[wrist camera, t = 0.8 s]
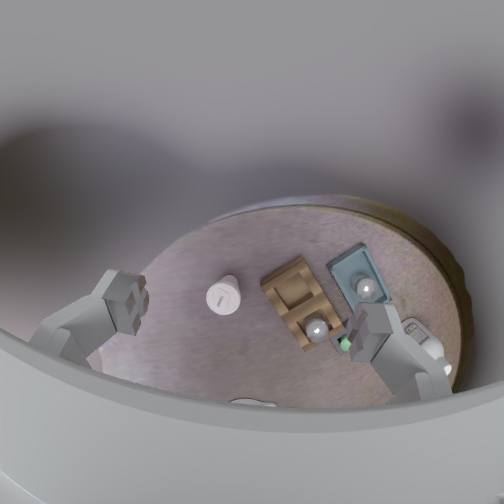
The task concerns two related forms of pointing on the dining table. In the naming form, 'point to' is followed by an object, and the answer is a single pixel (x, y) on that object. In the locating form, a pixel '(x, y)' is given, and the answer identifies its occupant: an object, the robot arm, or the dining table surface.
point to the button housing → (338, 335)
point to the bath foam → (426, 341)
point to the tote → (351, 264)
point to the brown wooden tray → (299, 300)
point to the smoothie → (224, 296)
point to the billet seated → (316, 327)
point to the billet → (364, 286)
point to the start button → (344, 343)
